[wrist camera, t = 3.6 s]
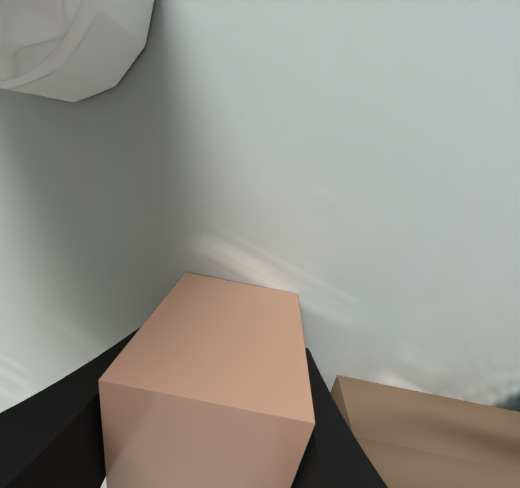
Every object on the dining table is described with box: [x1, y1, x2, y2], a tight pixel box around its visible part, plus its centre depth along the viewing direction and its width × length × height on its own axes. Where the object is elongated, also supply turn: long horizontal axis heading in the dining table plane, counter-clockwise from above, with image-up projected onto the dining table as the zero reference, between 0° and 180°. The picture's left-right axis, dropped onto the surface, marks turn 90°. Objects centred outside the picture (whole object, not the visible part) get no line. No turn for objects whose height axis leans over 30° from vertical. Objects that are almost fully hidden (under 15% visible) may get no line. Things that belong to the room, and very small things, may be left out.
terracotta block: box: [98, 272, 315, 488], centre depth 8 cm, size 5×5×5 cm
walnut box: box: [330, 375, 520, 488], centre depth 12 cm, size 9×9×3 cm
